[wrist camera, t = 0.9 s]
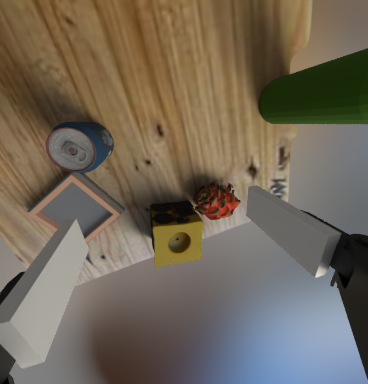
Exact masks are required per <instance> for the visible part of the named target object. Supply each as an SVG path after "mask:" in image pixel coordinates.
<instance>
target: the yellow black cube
mask: <svg viewBox="0 0 368 384" xmlns="http://www.w3.org/2000/svg"><path fill="white" fill-rule="evenodd" d="M150 216H151V217H150V219H151V228H152V246H153V249H154V253H155V257H154V260H155V267H160V266H165V265H170V264H175V263H180V262H186V261H193V260H198V259H200V258H201V239H202V229H203V222H202V219H201V218H200V216H199V215H198V214H197V213H196V211H195V210H194V208H193V205H192V204H191V202H179V203H178V202H176V203H175V202H174V203H165V204H152V205H151V206H150Z"/></svg>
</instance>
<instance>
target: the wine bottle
mask: <svg viewBox="0 0 368 384" xmlns="http://www.w3.org/2000/svg"><path fill="white" fill-rule="evenodd" d="M259 109H260V113H261V115H262V117H263V118H264V119H265V120H266V121H267V122H269V123H272V124H368V48H367V49H364V50H361V51H358V52H355V53H353V54H349V55H346V56H343V57H340V58H337V59H335V60H331V61H328V62H325V63H322V64H319V65H317V66H314V67H311V68H308V69H304V70H302V71H299V72H296V73H293V74H290V75H287V76H284V77H281V78H278V79H276V80H274V81H272V82H271V83H270V84H269V85H267V87H266V88H265V89H264V91H263V93H262V95H261V98H260V102H259Z"/></svg>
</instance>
